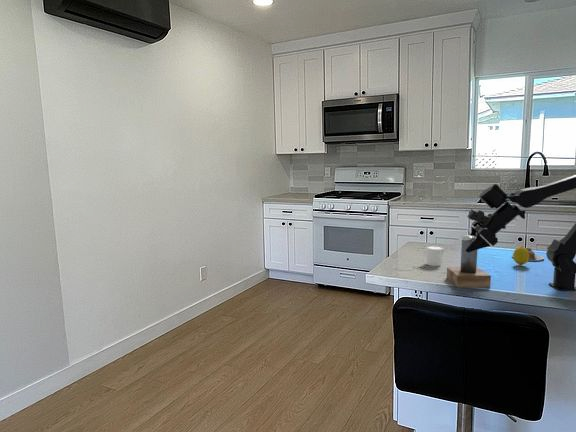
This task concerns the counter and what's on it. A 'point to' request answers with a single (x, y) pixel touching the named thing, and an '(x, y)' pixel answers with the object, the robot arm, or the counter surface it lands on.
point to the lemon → (521, 255)
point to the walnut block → (468, 278)
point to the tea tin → (468, 255)
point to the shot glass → (434, 255)
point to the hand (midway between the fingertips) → (464, 248)
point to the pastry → (533, 256)
